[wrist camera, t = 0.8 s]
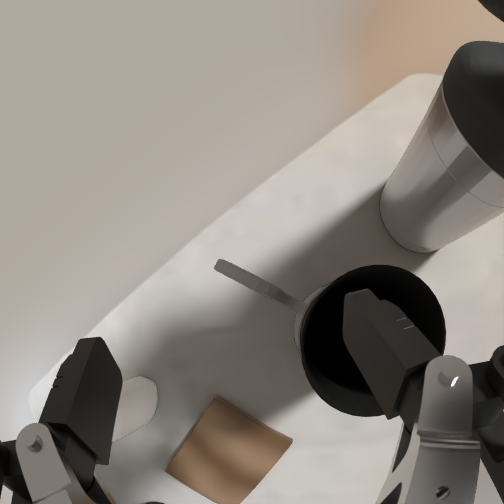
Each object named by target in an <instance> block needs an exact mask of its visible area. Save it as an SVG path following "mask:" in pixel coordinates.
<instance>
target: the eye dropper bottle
mask: <svg viewBox="0 0 504 504" xmlns="http://www.w3.org/2000/svg"><path fill="white" fill-rule="evenodd" d="M122 382H123V384H122V390H121V395H120V400H119V405H118V410H117V415H116V420H115V426H114V432H113V438H112V442H116V441H118V440H120V439H122V438H124V437H125V436H127V435H129V434H130V433H132V432H134V431H135V430H137V429H139V428H140V427H142V426H144V425H145V424H147V423H148V422H149V421H150V420H151V419H152V417H153V416H154V414H155V411H156V408H157V402H158V395H157V388H156V384H155V383H154V382H153V381H152V380H149V379H147V378H144V377H142V376H138V377H135V378H132V379H129V380H126V381H122Z"/></svg>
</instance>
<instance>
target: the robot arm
mask: <svg viewBox="0 0 504 504" xmlns="http://www.w3.org/2000/svg"><path fill="white" fill-rule="evenodd" d="M478 1H479V2H480V3H481V4H482V5H483V6H484V7H485V8H486V9H487V10H488V11H489V12H491V13H492V14H493V15H494V16H496V17H497V18H499V19H500V20H501V21H503V22H504V0H478ZM380 212H381V217H382V220H383V222H384V225H385V227H386V229H387V230H388V232H389V234H390V235H391V236H392V237H393V238H394V240H395V241H396V242H397V243H399V244H400V245H401V246H403V247H404V248H406V249H408V250H411V251H413V252H418V253H429V252H433V251H436V250H438V249H440V248H442V247H443V246H445V245H447V244H449V243H451V242H453V241H455V240H457V239H459V238H460V237H462V236H464V235H466V234H468V233H469V232H471V231H473V230H475V229H476V228H478V227H480V226H482V225H483V224H485V223H487V222H488V221H490V220H492V219H494V218H495V217H497V216H499V215H500V214H502V213H503V212H504V43H499V42H490V41H474V42H469V43H466V44H464V45H463V46H461V47H460V48H459V49H458V50H457V51H456V53H455V54H454V56H453V58H452V59H451V61H450V64H449V66H448V68H447V70H446V72H445V74H444V77H443V80H442V82H441V84H440V86H439V88H438V90H437V92H436V94H435V96H434V98H433V100H432V102H431V104H430V106H429V108H428V110H427V112H426V114H425V116H424V118H423V120H422V122H421V124H420V125H419V127H418V129H417V131H416V133H415V135H414V137H413V138H412V140H411V142H410V144H409V146H408V147H407V149H406V151H405V153H404V154H403V156H402V158H401V160H400V161H399V163H398V165H397V167H396V168H395V170H394V171H393V173H392V175H391V176H390V178H389V180H388V182H387V183H386V185H385V187H384V189H383V191H382V194H381V199H380ZM343 339H344V342H345V345H346V347H347V349H348V351H349V353H350V354H351V356H352V358H353V359H354V361H355V363H356V365H357V366H358V368H359V370H360V372H361V373H362V375H363V377H364V378H365V380H366V382H367V384H368V385H369V387H370V389H371V391H372V392H373V394H374V396H375V398H376V400H377V401H378V403H379V405H380V407H381V408H382V410H383V412H384V414H385V416H386V417H387V419H388V420H390V419H392V418H394V417H397V416H399V415H400V417H401V418H402V420H403V423H402V426H401V430H400V435H399V439H398V442H397V446H396V450H395V454H394V457H393V461H392V464H391V467H390V471H389V474H388V477H387V479H386V481H385V483H384V485H383V487H382V489H381V492H380V494H379V496H378V499H377V501H376V504H474V498H475V493H476V487H477V480H478V473H479V464H480V458H481V460H482V462H483V463H484V466H485V467H486V469H487V471H488V473H489V475H490V477H491V479H492V481H493V483H494V485H495V487H496V489H497V491H498V493H499V495H500V497H501V499H502V502H503V503H504V412H503V410H504V345H503V346H500V347H498V348H497V349H496V350H495V351H494V353H493V355H492V357H491V359H490V361H486V362H482V363H476V364H471V365H467V364H466V363H465V362H464V361H463V360H461V359H460V358H457V357H454V356H448V355H445V356H442V355H441V354H440V353H439V352H438V351H437V350H436V348H435V347H434V346H433V345H432V344H431V343H430V342H429V340H428V339H427V338H426V337H425V336H424V335H423V334H422V332H421V331H420V330H419V329H418V328H417V327H416V326H414V323H413V322H412V321H411V320H410V319H409V318H407V316H406V315H405V314H404V312H403V311H402V310H401V309H400V308H399V307H398V306H396V305H394V304H392V303H391V302H389V301H387V300H381V301H380V300H379V299H378V298H377V297H376V296H375V295H374V294H373V293H372V291H371V290H370V289H363V290H359V291H355V292H351V293H347V294H346V295H345V298H344V315H343ZM56 377H57V379H55V381H54V383H53V385H52V386H53V388H51V390H50V393H49V395H48V398H47V401H46V403H45V406H44V409H43V411H42V414H41V417H40V420H39V422H38V423H33V424H30V425H28V426H26V427H25V428H24V429H22V431H21V432H20V433H19V435H18V437H17V440H13V441H7V442H1V441H0V496H1V491H2V486H3V485H4V486H6V487H7V488H8V489H10V490H11V491H13V496H12V502H11V504H116V502H115V501H114V500H113V498H112V497H111V495H110V493H109V492H108V490H107V489H106V487H105V486H104V484H103V482H102V481H101V479H100V478H99V476H98V474H97V473H96V472H95V471H94V470H95V464H101V465H108V464H109V457H110V450H111V444H112V438H113V432H114V426H115V420H116V415H117V410H118V405H119V400H120V395H121V390H122V384H123V382H122V375H121V371H120V369H119V367H118V365H117V364H116V362H115V360H114V358H113V356H112V354H111V353H110V351H109V349H108V347H107V345H106V343H105V341H104V340H103V339H102V338H101V337H93V338H83V339H80V340H79V341H78V343H77V345H76V347H75V349H74V352H73V354H70V355H69V356H68V358H67V359H66V360H65V361H64V362H63V363H62V364H61V366H60V369H59V371H58V373H57V376H56Z"/></svg>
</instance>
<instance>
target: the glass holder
mask: <svg viewBox="0 0 504 504" xmlns="http://www.w3.org/2000/svg"><path fill="white" fill-rule="evenodd" d="M214 269H215V270H216V271H218V272H220V273H222V274H224V275H225V276H227V277H229V278H231V279H233V280H235V281H237V282H239V283H241V284H243V285H245V286H246V287H248V288H250V289H252V290H254V291H256V292H258V293H260V294H262V295H264V296H266V297H268V298H270V299H272V300H274V301H276V302H278V303H280V304H282V305H284V306H286V307H288V308H290V309H292V310H294V311H296V312H297V314H296V317H295V322H294V338H295V342H296V345H297V348H298V350H299V352H300V356H301V359H302V364H303V367H304V370H305V374H306V377H307V379H308V380H309V382H310V384H311V386H312V388H313V389H314V390H315V392H316V393H317V394H318V395H319V397H320V398H321V399H322V400H324V401H325V402H326V403H327V404H329V405H330V406H331V407H333V408H335V409H337V410H339V411H341V412H343V413H347V414H350V415H353V416H361V417H372V416H380V415H384V412H383V410H382V408H381V407H380V405H379V403H378V401H377V400H376V398H375V396H374V394H373V392H372V391H371V389H370V387H369V385H368V384H367V382H366V380H365V378H364V377H363V375H362V373H361V372H360V370H359V368H358V366H357V365H356V363H355V361H354V359H353V358H352V356H351V354H350V353H349V351H348V349H347V347H346V345H345V342H344V339H343V315H344V298H345V295H346V294H347V293H351V292H355V291H359V290H363V289H370V290H371V291H372V293H373V294H374V295H375V296H376V297H377V298H378V299H379V300H380V301H381V300H387V301H389V302H391V303H392V304H394V305H396V306H398V307H399V308H400V309H401V310H402V311H403V312H404V314H405V315H406V316H407V318H409V319H410V320H411V321H412V322H413V323H414V326H416V327H417V328H418V329H419V330H420V331H421V332H422V334H423V335H424V336H425V337H426V338H427V339H428V340H429V342H430V343H431V344H432V345H433V346H434V347H435V348H436V350H437V351H438V352H439V353H440V354H441V355H442V356H443V354H444V349H445V342H446V328H445V319H444V316H443V312H442V309H441V306H440V304H439V302H438V300H437V298H436V296H435V295H434V293H433V292H432V290H431V289H430V288H429V287H428V286H427V285H426V284H425V283H424V282H423V281H422V280H421V279H420V278H419V277H417V276H416V275H414V274H412V273H411V272H409V271H407V270H404V269H402V268H399V267H395V266H390V265H370V266H364V267H360V268H357V269H355V270H352V271H349V272H347V273H346V274H344V275H342V276H340V277H339V278H337V279H336V280H335V281H333V282H331V283H329V284H328V285H326V286H324V287H321V288H319V289H317V290H316V291H314V292H313V293H312V294H310V295H309V296H308V297H307V298H306V299H305V300H304V302H301V301H299V300H297V299H295V298H293V297H291V296H289V295H288V294H286V293H285V292H283V291H282V290H281V289H279V288H278V287H276V286H274V285H272V284H271V283H269V282H267V281H265V280H263V279H261V278H260V277H258V276H256V275H254V274H252V273H250V272H248V271H246V270H244V269H242V268H240V267H238V266H236V265H234V264H232V263H230V262H228V261H225V260H223V259H219V260H218V261H217V263H216V265H215V267H214Z"/></svg>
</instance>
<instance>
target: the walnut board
mask: <svg viewBox="0 0 504 504" xmlns="http://www.w3.org/2000/svg"><path fill="white" fill-rule="evenodd" d="M292 441H293V439H291V438H289V437H287V436H285V435H283V434H282V433H280V432H278V431H276V430H274V429H272V428H270V427H268V426H267V425H265V424H263V423H261V422H259V421H258V420H256V419H254V418H252V417H251V416H249V415H247V414H246V413H244V412H242V411H240V410H239V409H237V408H235V407H234V406H232V405H231V404H229V403H227V402H226V401H224V400H223V399H221V398H219V397H218V396H216V397H215V398H214V399H213V401H212V402H211V404H210V405H209V407H208V408H207V410H206V412H205V413H204V415H203V416H202V418H201V419H200V421H199V422H198V424H197V425H196V427H195V428H194V430H193V431H192V433H191V434H190V436H189V437H188V438H187V440H186V441H185V443H184V444H183V446H182V447H181V449H180V450H179V452H178V453H177V454H176V456H175V457H174V459H173V460H172V462H171V463H170V464H169V466H168V467H167V469H166V470H165V471H166V472H167V473H169V474H170V475H171V476H173V477H175V478H176V479H178V480H179V481H181V482H182V483H184V484H185V485H187V486H189V487H190V488H192V489H194V490H195V491H197V492H199V493H200V494H202V495H204V496H205V497H207V498H209V499H211V500H213V501H214V502H216V503H218V504H240V503H241V502H242V501H243V500H244V499H245V498H246V497H247V496H248V495H249V493H250V492H251V491H252V490H253V489H254V488H255V487H256V486H257V485H258V484H259V483H260V481H261V480H262V479H263V478H264V477H265V476H266V475H267V473H268V472H269V471H270V470H271V469H272V467H273V466H274V465H275V464H276V463H277V462H278V460H279V459H280V458H281V457H282V455H283V454H284V453H285V452H286V450H287V449H288V448H289V447H290V445H291V444H292Z"/></svg>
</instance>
